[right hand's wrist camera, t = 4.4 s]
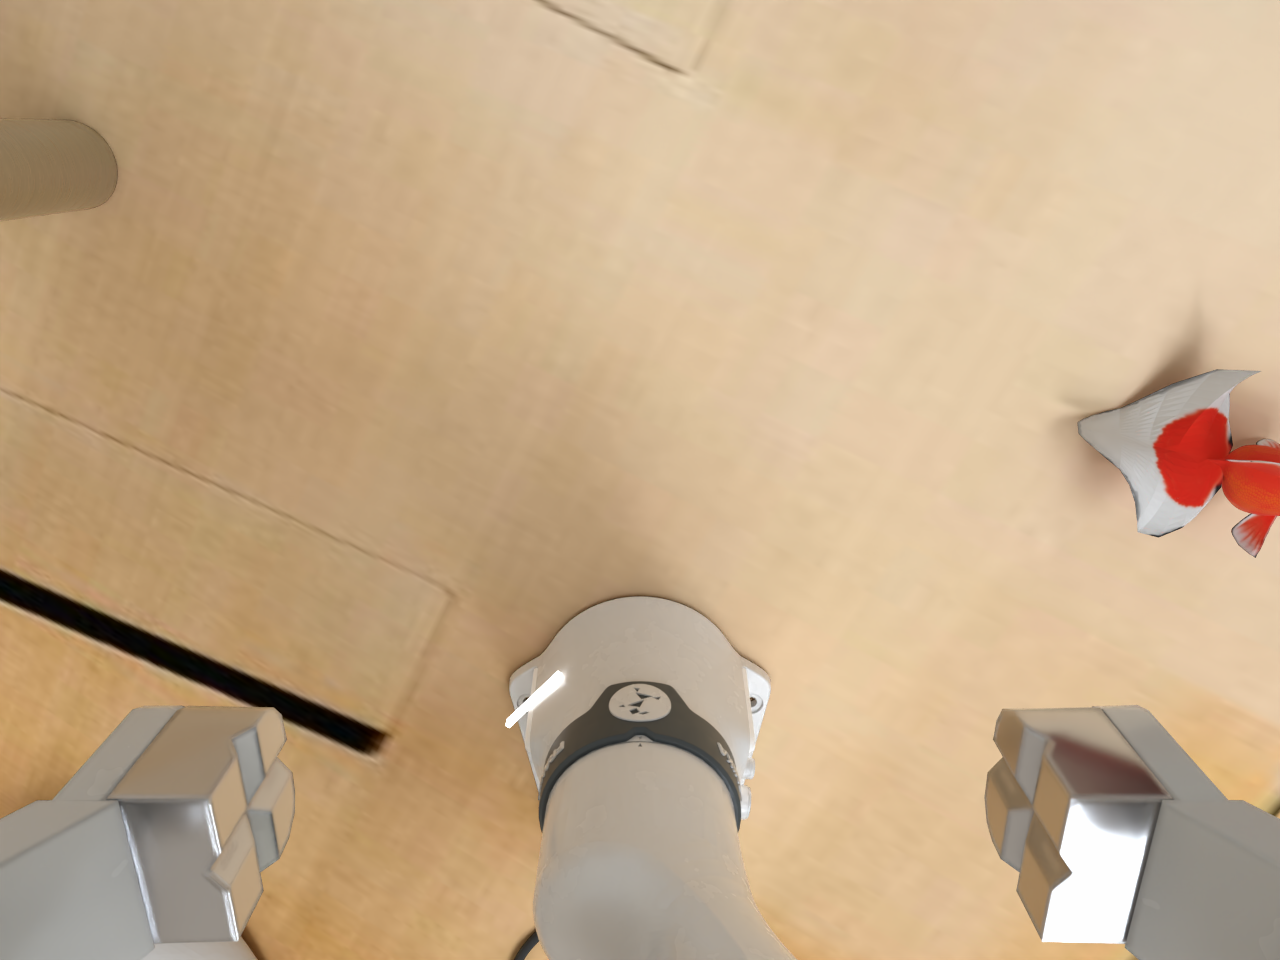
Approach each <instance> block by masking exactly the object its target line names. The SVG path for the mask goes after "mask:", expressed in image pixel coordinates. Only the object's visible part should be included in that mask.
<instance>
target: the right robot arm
mask: <svg viewBox="0 0 1280 960" xmlns="http://www.w3.org/2000/svg"><path fill="white" fill-rule="evenodd" d="M509 692H510V696H511V699H512V703H513V706H514V710H515V712H514V713H513V714H512V715H511V716H510V717H509V718H508V719H507V721H506V726H507V727H508V728H510V727H511V726H512V725H513V724H514V723H515V722H516V721H517V720H518V723H519V727H520V730H521V734H522V737H523V740H524V744H525V749H526V751H527V754H528V757H529V761H530V764H531V768H532V771H533V775H534V778H535V781H536V785H537V788H538V792H539V796H538V800H540V801H539V821H540V827H541V831H542V840H541V847H540V855H539V862H538V869H537V877H536V884H535V891H534V899H533V916H534V923H535V928H536V932H535V933H534V934H533V935H532V936H531V937H530V938H529V939H528V940H527V941H526V942H525V944H524V945H523V946H522V948H521V949H520V951H519V952H518V954H517V955H516V957H515V959H514V960H524V959H525V957H526V956H527V954H528V953H529V952H530V950H531V949H532V948H533V947H534V946H535V945H536V944H537V943H538V942H539V941H540V944H541V946H542V948H543V950H544V952H545V954H546V955H547V957H548V959H549V960H797V959H796V958H795V957H794V956H793V955H792V953H791V952H790V951H789V950H788V949H787V948H786V947H785V946H784V945H783V943H782V942H781V941H780V940H779V939H778V937H777V936H776V935H775V934H774V932H773V931H772V930H771V929H770V927H769V926H768V924H767V923H766V921H765V919H764V918H763V916H762V915H761V913H760V911H759V909H758V907H757V905H756V903H755V901H754V899H753V896H752V893H751V890H750V886H749V882H748V878H747V875H746V871H745V867H744V862H743V858H742V854H741V848H740V843H739V838H738V831H739V828H740V821H741V820H745V819H747V818H748V816H749V813H750V807H751V790H750V787H748V786H746V785H744V782H745V779H753V777H754V772H755V760H754V759H753V758H752V754H753V751H754V749H755V744H756V741H757V737H758V734H759V730H760V727H761V723H762V720H763V717H764V713H765V710H766V706H767V703H768V700H769V696H770V692H771V683H770V677H769V675H768V674H767V673H766V672H765V671H764V670H763V669H762V668H760V667H759V666H757V665H756V664H754V663H752V662H750V661H749V660H747V659H745V658H743V657H742V656H740V655H739V654H738V653H737V652H736V651H735V650H734V648H733V647H732V646H731V644H730V643H729V642H728V640H727V639H726V637H725V636H724V635H723V633H722V632H721V631H720V630H719V629H718V628H717V627H716V626H715V625H714V624H713V623H712V622H711V621H710V620H708V619H707V618H706V617H704V616H703V615H702V614H700V613H698V612H697V611H695V610H693V609H691V608H689V607H687V606H685V605H682V604H680V603H677V602H674V601H671V600H666V599H662V598H656V597H643V596H637V597H624V598H618V599H614V600H609V601H606V602H603V603H600V604H598V605H595V606H593V607H591V608H589V609H587V610H585V611H583V612H582V613H580V614H578V615H577V616H576V617H574V618H573V619H572V620H570V621H569V622H568V623H567V624H566V625H565V626H564V627H563V628H562V629H561V630H560V631H559V632H558V633H557V635H556V636H555V637H554V639H553V640H552V642H551V643H550V644H549V646H548V647H547V648H546V650H545V651H544V652H543V653H542V654H541V655H540V656H538V657H537V658H535V659H533V660H531V661H530V662H528V663H526V664H524V665H523V666H521V667H520V668H519V669H517V670H516V671H515V672H514V673H513V674H512V675H511V677H510V684H509ZM527 697H530V698H529V699H528V700H526V699H525V698H527ZM750 697H753V698H755V699H754V700H753V701H750ZM286 740H287V738H286V733H285V729H284V724H283V719H282V715H281V714H280V713H279V712H278V711H277V710H276V709H275V708H266V707H218V706H187V707H184V706H142V707H139V708H136V709H133V710H132V711H131V712H130V713H129V714H128V715H127V716H126V717H125V718H124V720H123V721H122V722H121V723H120V724H119V725H118V726H117V727H116V729H115V730H114V731H113V732H112V733H111V734H110V735H109V736H108V738H107V739H106V740H105V741H104V742H103V743H102V744H101V745H100V747H99V748H98V749H97V750H96V751H95V752H94V753H93V754H92V756H91V757H90V758H89V759H88V760H87V761H86V762H85V763H84V765H83V766H82V767H81V768H80V769H79V770H78V771H77V772H76V774H75V775H74V776H73V777H72V778H71V779H70V780H69V781H68V783H67V784H66V785H65V786H64V787H63V788H62V789H61V790H60V792H59V793H58V794H57V795H56V796H55V797H54V798H53V799H52V800H37V801H35V802H33V803H31V804H29V805H27V806H25V807H23V808H21V809H19V810H17V811H15V812H13V813H11V814H9V815H7V816H5V817H3V818H1V819H0V960H142V959H143V958H144V957H145V956H146V955H147V954H149V953H150V952H151V951H152V950H153V949H155V945H154V944H161V943H196V942H230V941H238V940H239V938H240V936H241V934H242V932H243V930H244V928H245V926H246V924H247V922H248V921H249V919H250V917H251V915H252V913H253V911H254V909H255V907H256V905H257V903H258V901H259V899H260V897H261V895H262V893H263V885H262V879H261V874H260V872H262V871H263V870H264V869H266V868H267V867H269V866H270V865H271V864H273V863H274V862H276V861H277V860H278V859H279V858H280V856H281V854H282V852H283V850H284V848H285V846H286V843H287V841H288V839H289V836H290V831H291V827H292V822H293V818H294V813H295V787H294V781H293V774H292V772H291V771H290V770H289V769H288V768H287V767H286V766H285V765H284V764H283V763H282V762H281V761H280V760H279V759H278V758H277V756H278V754H279V752H280V751H281V749H282V747H283V745H284V744H285V742H286ZM993 740H994V742H995V744H996V745H997V747H998V749H999V751H1000V752H1001V754H1002V756H1003V758H1002V759H1001V760H1000V761H999V762H998V763H997V764H996V765H995V766H994V767H993V768H992V769H991V770H990V771H989V772H988V774H987V782H986V790H985V808H986V819H987V825H988V828H989V832H990V835H991V839H992V842H993V844H994V846H995V848H996V850H997V852H998V854H999V856H1000V858H1001V859H1002V860H1003V861H1004V862H1006V863H1007V864H1009V865H1010V866H1011V867H1013V868H1014V869H1016V870H1017V871H1018V872H1020V874H1019V879H1018V885H1017V893H1018V895H1019V897H1020V899H1021V901H1022V903H1023V905H1024V907H1025V909H1026V911H1027V912H1028V914H1029V916H1030V918H1031V920H1032V922H1033V924H1034V926H1035V928H1036V930H1037V932H1038V934H1039V936H1040V938H1041V940H1042V941H1047V942H1083V943H1118V944H1126V945H1125V948H1126V949H1127V950H1128V951H1129V952H1131V953H1132V954H1133V955H1134V956H1135V957H1137V958H1138V959H1139V960H1280V819H1279V818H1277V817H1275V816H1273V815H1271V814H1269V813H1267V812H1265V811H1263V810H1261V809H1259V808H1257V807H1255V806H1253V805H1251V804H1249V803H1247V802H1245V801H1243V800H1228V799H1227V798H1226V797H1225V796H1224V795H1223V794H1222V793H1221V792H1220V790H1219V789H1218V788H1217V787H1216V786H1215V785H1214V784H1213V783H1212V781H1211V780H1210V779H1209V778H1208V777H1207V776H1206V775H1205V774H1204V772H1203V771H1202V770H1201V769H1200V768H1199V767H1198V766H1197V765H1196V763H1195V762H1194V761H1193V760H1192V759H1191V758H1190V757H1189V756H1188V754H1187V753H1186V752H1185V751H1184V750H1183V749H1182V748H1181V747H1180V745H1179V744H1178V743H1177V742H1176V741H1175V740H1174V739H1173V738H1172V736H1171V735H1170V734H1169V733H1168V732H1167V731H1166V730H1165V729H1164V727H1163V726H1162V725H1161V724H1160V723H1159V722H1158V721H1157V720H1156V718H1155V717H1154V716H1153V715H1152V714H1151V713H1150V712H1149V711H1148V710H1146V709H1144V708H1142V707H1140V706H1138V705H1124V706H1093V707H1092V708H1025V709H1002V711H1001V713H1000V715H999V717H998V719H997V721H996V727H995V732H994V738H993Z"/></svg>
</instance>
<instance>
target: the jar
mask: <svg viewBox="0 0 1280 960" xmlns="http://www.w3.org/2000/svg"><path fill="white" fill-rule="evenodd" d="M117 176H118V175H117V164H116V161H115V158H114V155H113V153H112V151H111V149H110V147H109V146H108V144H107V143H106V141H105V140H104V139H103V138H102V137H101V136H100V135H99V134H98V133H97V132H96V131H94V130H93V129H91V128H90V127H88V126H86V125H84V124H82V123H79V122H76V121H71V120H44V119H0V221H6V220H13V219H20V218H27V217H35V216H42V215H49V214H56V213H63V212H70V211H77V210H85V209H91V208H95V207H97V206H100V205H101V204H103V203H104V202H106V201H107V200H108V199H109V198H110V196H111V195H112V193H113V192H114V189H115V187H116V183H117Z"/></svg>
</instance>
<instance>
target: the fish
mask: <svg viewBox="0 0 1280 960" xmlns="http://www.w3.org/2000/svg"><path fill="white" fill-rule="evenodd" d="M1258 372H1261V371H1244V370H1218V369H1217V370H1213V371H1210V372H1207V373H1204V374H1201V375H1198V376H1195V377H1192V378H1189V379H1186V380H1183V381H1180V382H1177V383H1174V384H1171V385H1169V386H1167V387H1165V388H1163V389H1161V390H1158V391H1156V392H1154V393H1152V394H1150V395H1148V396H1146V397H1144V398H1142V399H1139V400H1137V401H1135V402H1133V403H1131V404H1129V405H1127V406H1124V407H1122V408H1119V409H1115V410H1110V411H1106V412H1102V413H1099V414H1096V415H1093V416H1090V417H1087V418H1084V419H1082V420H1081V421H1079V422H1078V433H1079V434H1080V435H1081V436H1082V437H1083V439H1084V440H1085V441H1087V442H1088V443H1089V444H1090V445H1091V446H1092V447H1094V448H1095V449H1096V450H1097V451H1098V452H1099V453H1101V454H1102V455H1103V456H1104V457H1105V458H1106V459H1108V460H1109V461H1110V462H1111V463H1113V464H1114V465H1115V466H1116V467H1117V468H1119V469H1120V471H1121V472H1122V474H1123V475H1124V477H1125V479H1126V480H1127V482H1128V483H1129V485H1130V488H1131V491H1132V494H1133V497H1134V501H1135V505H1136V514H1137V526H1138V532H1140V533H1144V534H1148V535H1151V536H1155V537H1161V536H1163V535H1166V534H1168V533H1171V532H1173V531H1175V530H1178V529H1180V528H1182V527H1184V526H1185V525H1186V524H1187V523H1189V522H1190V521H1191V520H1192V519H1194V518H1195V517H1196V516H1197V514H1198V513H1199V512H1200V511H1201V510H1202V509H1203V508H1204V507H1205V506H1206V504H1207V503H1208V502H1209V501H1210V500H1211V499H1212V497H1213V496H1214V495H1215V494H1216V493H1217V491H1218V490H1219V489H1220V488H1221V486H1222V489H1223V492H1224V494H1225V496H1226V497H1227V499H1228V500H1229V501H1230V502H1231V503H1232V504H1233V505H1234V506H1235V507H1236V508H1238V509H1240V510H1242V511H1244V512H1248V513H1251V514H1250V515H1248V516H1247V517H1245V518H1244V519H1243V520H1241V521H1240V522H1239V523H1238V524H1236V525H1235V526H1234V527H1233V528H1232V531H1231V532H1232V535H1233V537H1234V538H1235V540H1236V542H1237V543H1238V545H1239V546H1240V547H1241V548H1243V549H1244V550H1245V551H1246V552H1248V553H1249V554H1250V555H1252V556H1254V557H1255V558H1256V556H1257V554H1258V552H1259V551H1260V549H1261V547H1262V545H1263V543H1264V540H1265V538H1266V536H1267V534H1268V532H1269V529H1270V527H1271V525H1272V524H1273V522H1274V520H1275V519H1276V517H1277V516H1280V444H1278V443H1277V442H1275V441H1273V440H1271V439H1262V440H1260V441H1258V442H1257V443H1256V445H1246V446H1242V447H1240V448H1237V449H1236V450H1234V451H1232V452H1231V453H1230V451H1231V448H1232V446H1233V442H1232V436H1231V430H1230V424H1229V408H1230V392H1231V391H1232V389H1233V388H1234V387H1235V386H1236V385H1237V384H1239V383H1240V382H1241V381H1243V380H1245V379H1246V378H1248V377H1250V376H1251V375H1254V374H1256V373H1258Z"/></svg>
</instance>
